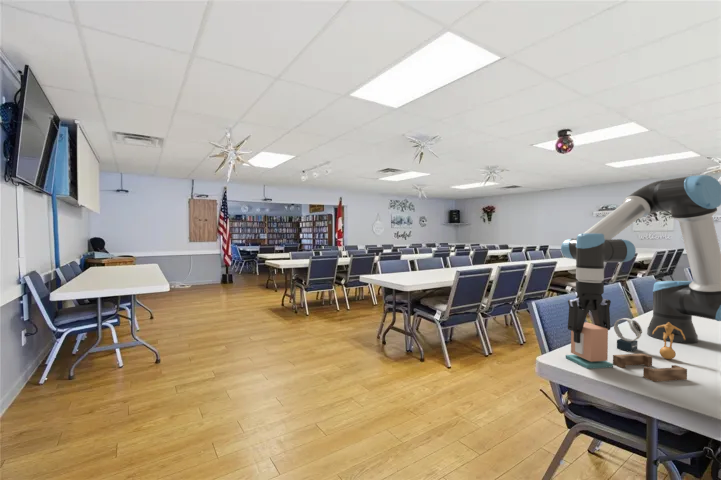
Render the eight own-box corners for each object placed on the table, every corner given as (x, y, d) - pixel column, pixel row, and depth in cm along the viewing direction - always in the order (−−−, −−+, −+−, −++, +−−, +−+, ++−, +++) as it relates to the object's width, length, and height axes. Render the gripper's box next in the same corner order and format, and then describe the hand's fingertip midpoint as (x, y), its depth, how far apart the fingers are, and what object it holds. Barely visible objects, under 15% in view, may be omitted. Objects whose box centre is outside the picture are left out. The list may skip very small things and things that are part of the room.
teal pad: (589, 356, 115) (589, 353, 115) (612, 367, 106) (612, 363, 106) (565, 358, 113) (565, 355, 113) (587, 368, 104) (587, 365, 104)
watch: (637, 353, 118) (638, 322, 118) (611, 347, 125) (611, 317, 125) (644, 350, 121) (644, 320, 121) (617, 344, 128) (618, 315, 128)
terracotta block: (586, 351, 114) (587, 322, 114) (607, 360, 106) (607, 328, 106) (570, 352, 113) (571, 322, 113) (590, 361, 105) (590, 329, 105)
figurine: (650, 356, 115) (650, 321, 115) (653, 352, 119) (653, 318, 119) (683, 363, 109) (684, 326, 109) (685, 359, 113) (686, 323, 113)
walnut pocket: (642, 362, 110) (642, 353, 110) (686, 379, 97) (687, 369, 97) (612, 364, 108) (613, 354, 108) (653, 381, 95) (653, 371, 95)
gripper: (605, 279, 114) (604, 347, 115) (554, 279, 112) (553, 349, 112) (626, 282, 107) (624, 354, 107) (571, 283, 104) (571, 357, 104)
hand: (588, 352), depth 110 cm, fingers closed on terracotta block, 6 cm apart
